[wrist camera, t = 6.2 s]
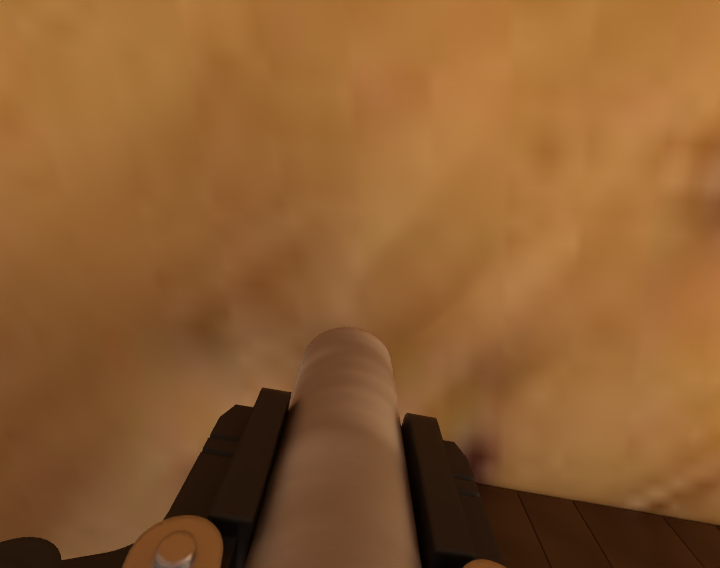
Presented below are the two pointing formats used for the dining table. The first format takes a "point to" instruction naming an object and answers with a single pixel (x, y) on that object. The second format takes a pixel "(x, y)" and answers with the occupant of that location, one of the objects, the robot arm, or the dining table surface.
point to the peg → (339, 466)
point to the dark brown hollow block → (593, 535)
